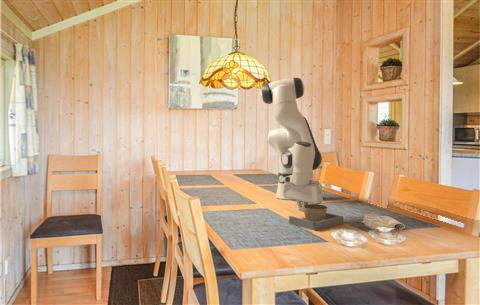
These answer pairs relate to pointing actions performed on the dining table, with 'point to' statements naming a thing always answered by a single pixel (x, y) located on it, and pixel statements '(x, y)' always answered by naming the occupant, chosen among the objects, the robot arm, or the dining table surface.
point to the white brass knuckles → (381, 222)
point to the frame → (327, 222)
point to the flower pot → (314, 212)
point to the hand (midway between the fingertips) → (302, 211)
